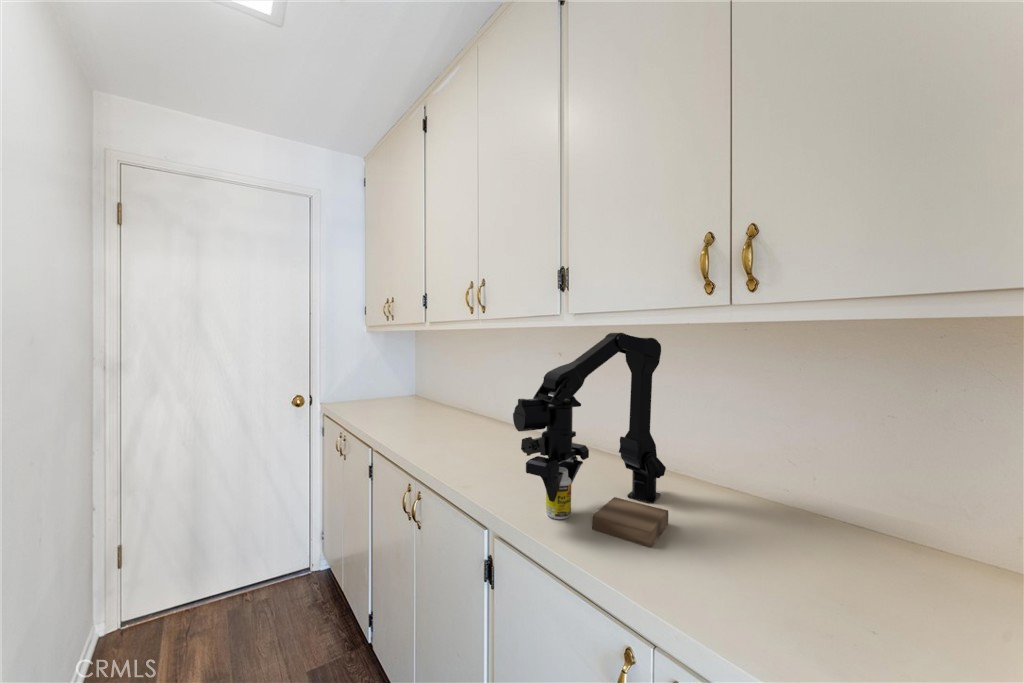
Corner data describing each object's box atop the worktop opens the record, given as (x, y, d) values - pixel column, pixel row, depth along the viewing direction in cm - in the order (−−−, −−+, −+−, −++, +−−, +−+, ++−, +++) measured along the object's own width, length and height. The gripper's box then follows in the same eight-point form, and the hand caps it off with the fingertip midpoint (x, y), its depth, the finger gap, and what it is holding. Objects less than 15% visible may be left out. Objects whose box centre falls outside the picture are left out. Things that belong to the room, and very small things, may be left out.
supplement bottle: (556, 522, 87) (557, 475, 87) (540, 513, 92) (541, 467, 92) (576, 516, 90) (576, 470, 90) (560, 507, 95) (560, 463, 95)
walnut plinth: (614, 510, 94) (614, 497, 94) (668, 524, 87) (668, 510, 87) (592, 529, 84) (592, 515, 84) (650, 547, 77) (650, 532, 77)
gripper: (549, 416, 103) (548, 477, 103) (505, 429, 88) (504, 501, 88) (590, 422, 96) (589, 487, 97) (550, 437, 81) (549, 515, 81)
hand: (558, 496), depth 91 cm, fingers closed on supplement bottle, 6 cm apart
